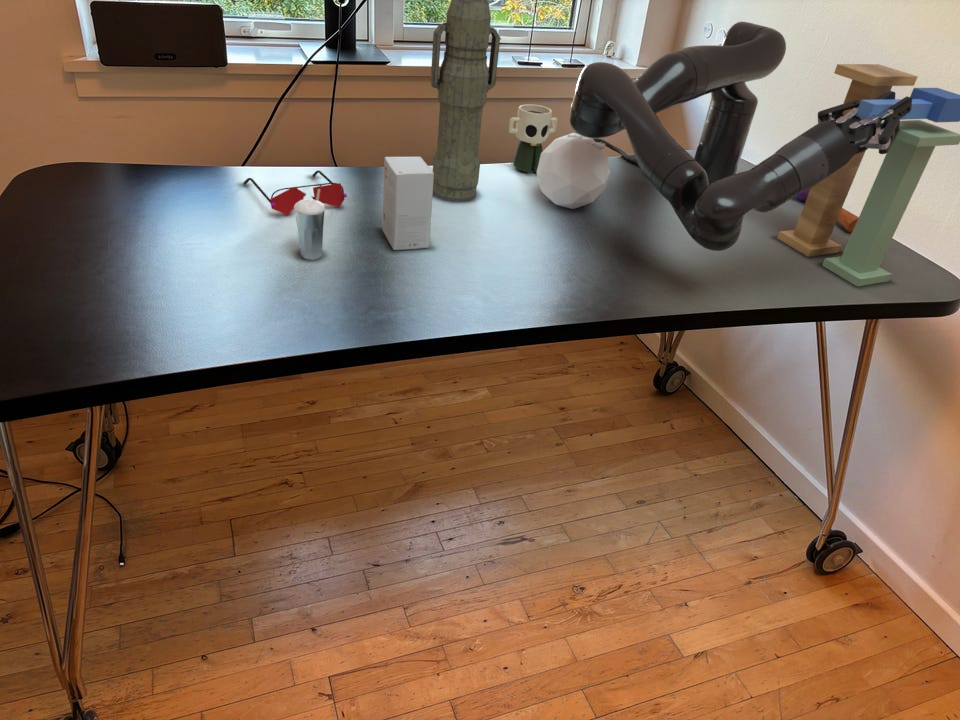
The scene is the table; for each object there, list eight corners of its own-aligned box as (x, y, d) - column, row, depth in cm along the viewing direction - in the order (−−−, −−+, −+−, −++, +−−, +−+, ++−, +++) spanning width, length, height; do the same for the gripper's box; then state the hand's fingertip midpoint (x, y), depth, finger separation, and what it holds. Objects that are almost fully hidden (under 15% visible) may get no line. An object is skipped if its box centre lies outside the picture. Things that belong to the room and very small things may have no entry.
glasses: (272, 219, 121) (270, 191, 119) (243, 184, 133) (240, 158, 130) (348, 209, 128) (348, 182, 125) (314, 176, 139) (313, 151, 136)
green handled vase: (491, 199, 139) (513, 2, 119) (435, 204, 134) (449, -1, 114) (471, 182, 145) (490, -8, 125) (418, 187, 140) (428, -10, 120)
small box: (430, 248, 118) (435, 173, 111) (392, 251, 116) (395, 174, 109) (417, 228, 124) (420, 155, 117) (381, 230, 122) (383, 156, 115)
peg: (877, 124, 104) (888, 99, 102) (845, 112, 108) (855, 87, 106) (959, 121, 111) (970, 98, 109) (926, 110, 115) (936, 87, 113)
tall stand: (803, 257, 131) (875, 76, 113) (773, 238, 137) (837, 63, 118) (842, 252, 135) (918, 76, 116) (811, 234, 140) (878, 64, 122)
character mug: (509, 175, 150) (517, 113, 143) (498, 164, 156) (505, 103, 148) (556, 174, 154) (566, 114, 146) (543, 163, 159) (552, 104, 152)
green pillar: (852, 287, 122) (920, 137, 108) (817, 266, 128) (878, 121, 113) (892, 280, 126) (963, 135, 111) (856, 260, 132) (919, 119, 117)
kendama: (846, 215, 140) (790, 170, 155) (838, 241, 144) (784, 195, 159) (873, 210, 141) (815, 166, 155) (864, 235, 145) (809, 190, 159)
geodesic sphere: (628, 171, 142) (596, 107, 136) (628, 197, 130) (592, 128, 125) (562, 204, 148) (529, 144, 143) (556, 232, 137) (519, 167, 131)
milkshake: (333, 251, 114) (332, 192, 109) (316, 264, 110) (314, 203, 104) (308, 244, 115) (306, 185, 110) (291, 257, 111) (287, 197, 105)
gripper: (843, 154, 98) (944, 89, 99) (773, 123, 109) (864, 65, 109) (844, 197, 104) (939, 135, 104) (777, 163, 114) (864, 107, 115)
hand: (900, 99), depth 107 cm, fingers closed on peg, 2 cm apart
